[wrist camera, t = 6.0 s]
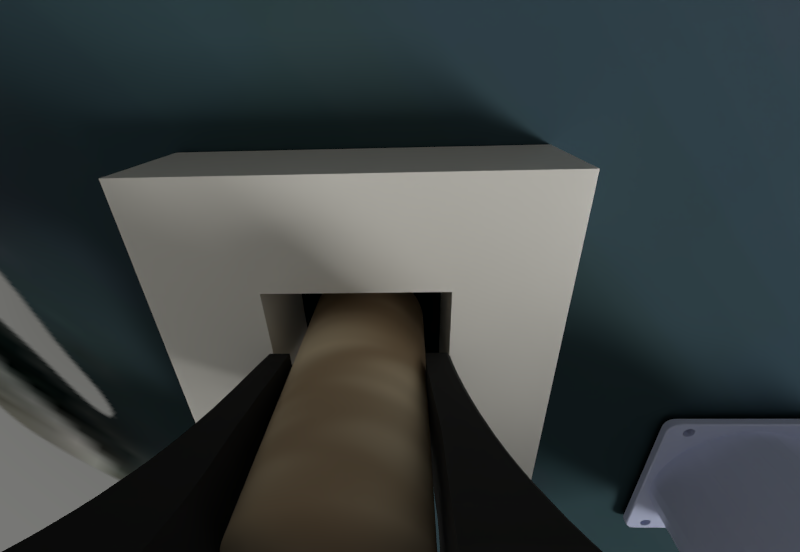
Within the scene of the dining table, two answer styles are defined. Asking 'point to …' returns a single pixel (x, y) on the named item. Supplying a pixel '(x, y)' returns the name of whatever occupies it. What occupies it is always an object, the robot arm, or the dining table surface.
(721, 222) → the dining table surface
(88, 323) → the dining table surface
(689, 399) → the dining table surface
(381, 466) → the beech peg
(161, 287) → the socket block
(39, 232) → the dining table surface
